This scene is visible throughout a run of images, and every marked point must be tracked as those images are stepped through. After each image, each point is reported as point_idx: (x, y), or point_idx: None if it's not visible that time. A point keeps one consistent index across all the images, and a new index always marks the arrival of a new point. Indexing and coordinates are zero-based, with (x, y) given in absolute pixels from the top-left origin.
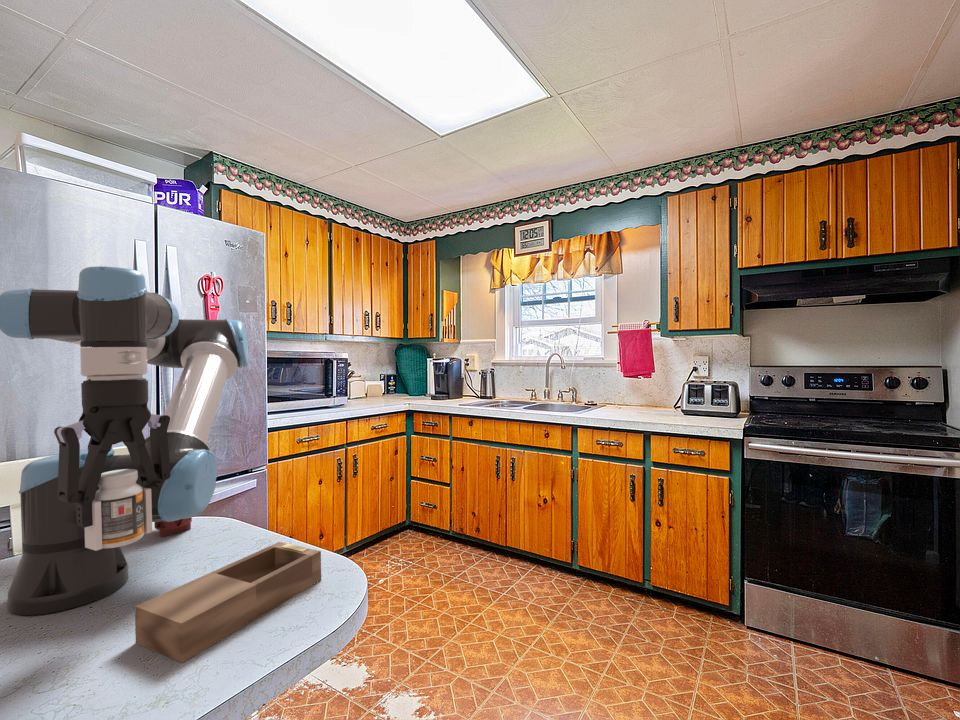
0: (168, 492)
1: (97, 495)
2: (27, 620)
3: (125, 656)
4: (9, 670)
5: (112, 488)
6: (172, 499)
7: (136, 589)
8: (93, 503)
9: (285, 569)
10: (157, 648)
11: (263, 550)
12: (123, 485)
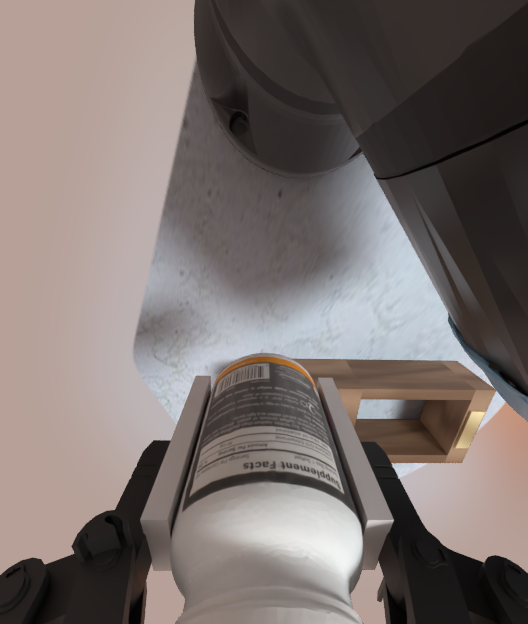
0: (515, 399)
1: (173, 574)
2: (207, 130)
3: None
4: (147, 282)
5: None
6: (494, 383)
7: (349, 202)
8: (153, 561)
9: (394, 462)
10: None
11: (455, 394)
12: None
